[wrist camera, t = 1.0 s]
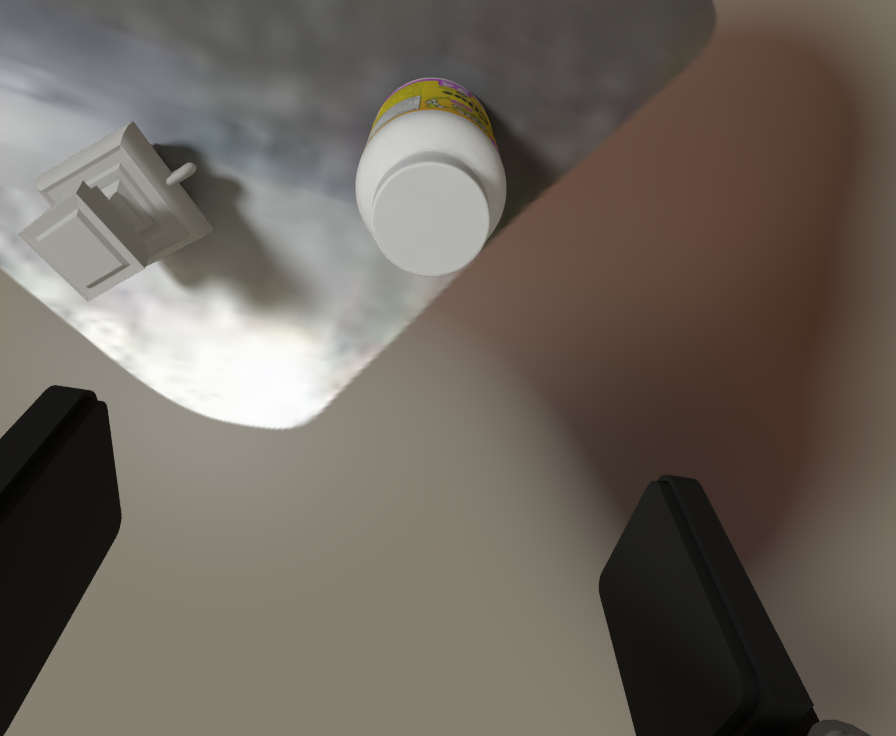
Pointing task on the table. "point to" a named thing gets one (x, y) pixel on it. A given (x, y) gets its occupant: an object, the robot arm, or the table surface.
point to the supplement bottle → (431, 178)
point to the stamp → (113, 213)
